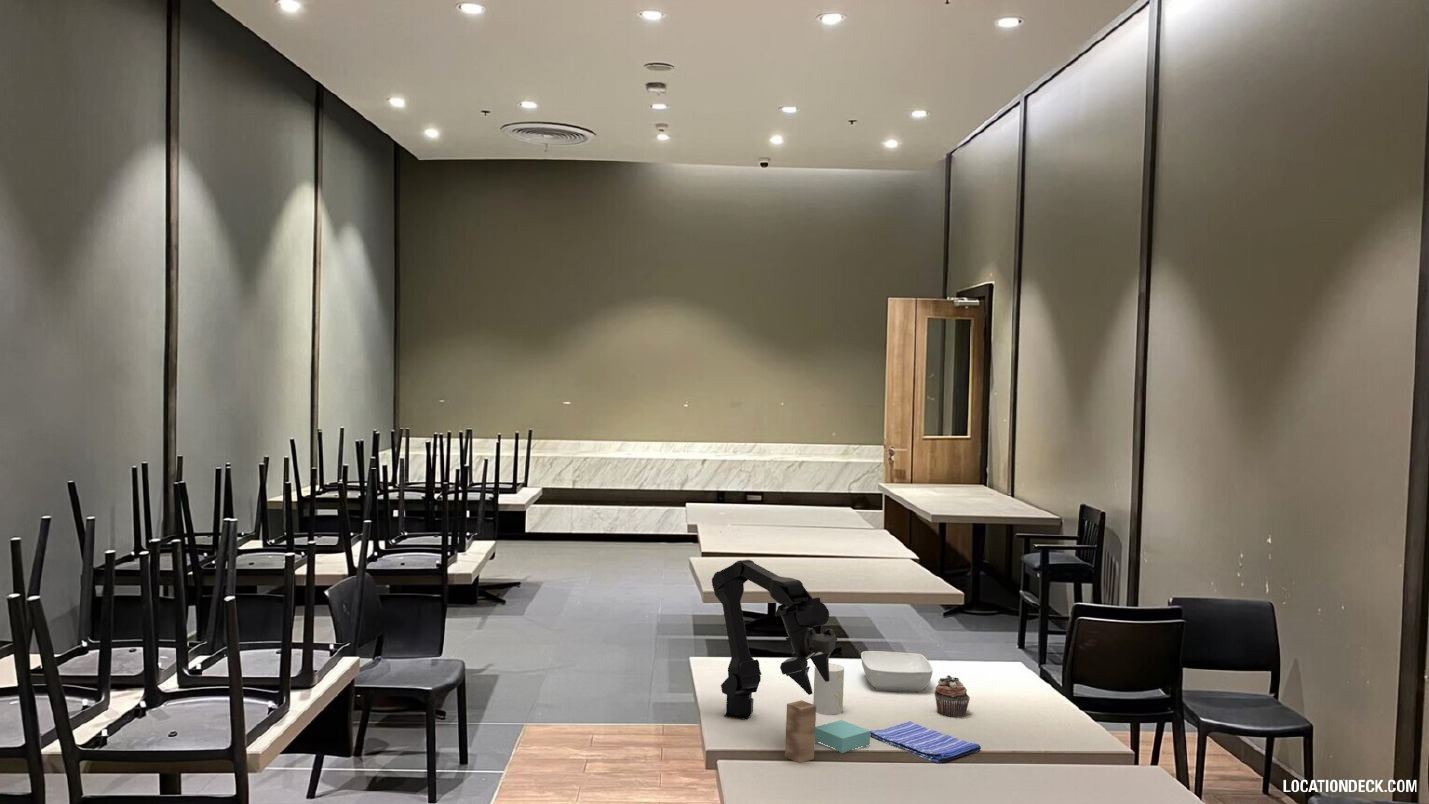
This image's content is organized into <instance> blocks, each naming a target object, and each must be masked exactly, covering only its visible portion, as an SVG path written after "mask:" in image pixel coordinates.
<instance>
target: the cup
mask: <svg viewBox="0 0 1429 804" xmlns="http://www.w3.org/2000/svg"><path fill="white" fill-rule="evenodd" d="M813 675H814V679H813V701H812V703H813V705H816V714H817V713H818V714H821V715H827V716H828V715H830V716H833V715H834V716H835V715H840V714H841V713H843V711H844V710H843V707H844V682H845V678H844V677H845V666H842V665H840V664H836V663H830V662H829V681H828V682H825V680H824V679H823V678H822V676H821V674H820V673H819V671H818V670H817V668H816V666H815V665H814V674H813Z"/></svg>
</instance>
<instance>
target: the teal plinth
mask: <svg viewBox="0 0 1429 804" xmlns="http://www.w3.org/2000/svg"><path fill="white" fill-rule="evenodd" d="M870 731H871V730H869V729H866V728H864V727H861V726H858V725H856V724H853V723H851V722H848V721H845V720H844V719H843V720H842V719H840V720H837V721H833V722H829V723H826V724H821V725H816V726H815V741H816V742H821V743H823V744H825V745H828V746H830V747H833V748H835V749H836V750H838V751H839V752H838V751H837V752H838V753H841V754H844V753H848V752H850V751H849V750H852V749H855V748H858V747H861V746H866V745H869V744H870V745H871V737H870ZM816 742H815V743H816ZM870 745H869V746H870ZM866 747H867V746H866ZM836 750H835V751H836ZM855 750H856V749H855ZM847 751H848V752H847ZM852 751H853V750H852Z"/></svg>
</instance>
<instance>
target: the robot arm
mask: <svg viewBox="0 0 1429 804" xmlns="http://www.w3.org/2000/svg"><path fill="white" fill-rule="evenodd" d="M748 581H750V582H752V583H754V584H755V585H756V586H759V587H760V588H763V589H764V590H766V591H768V593H769V596H770V597H771V598H772V599H773V600H774V601H775V602H776V603H778V604H779V605H778V606H777V609H776V611H775V613H774V616H775V617H779V616H780V617H781V619H782V622H783V624H784V628H785V630H786V633H787V635H788V636H787V637H786V638H785V640H786V642H787V643H789V642H790V644H791V647H792V650H793V652H792V653H791V654H790V655H791V656H792V657H788V658H787V659H786V660H784V661H782V662H781V664H780V666H779V669H780V672H781V674H782V675H785V676H786V677H789V678H790V679H792V681H794V682H795V683H796V684H797V685H798V686H799V687H800V688H801V689H803V691H804V692H805V693H806V694H807V695H808V696H810V695H813V689H812V685H811V681H810V677H809V674H808V673H809V670H810V667H811V666H809V665H808V663H809V661H808V660H811V662H812V663H813V665H814V667H815V666H816V668H817V670H818V671H819V673H820V674H821V676H822V678H823V679H824V680H825V682H828V681H829V663H830V662H829V661H830V656H831V654H832V653H833V652H834V650H835V649H836V642H837V641H838V638H837V635H836V633H835V631H834V629H832V628H827V629H825V630H824V632H821V633H816V630H815V629H814V628H813V627H819V626H824V625H826V624H827V623H828V621H829V618H830V611H829V609H828V607H827V606H826V604H824V602H822V601H821V597H812V595H811V594H810V593H809V592H808V590H807V588H806V587H805V586H804V584H803V582H802V581H801V580H799V579H796V578H793V577H784V576H781V575H778V574H776V573H774V572H772V571H770V570H769V569H766V568H765V567H762V566H760V565H759V564H756V562H754V561H753V560H751V559H743V560H737V561H736V562H734V563H733V564H731V565H729V566H727V567H726V568H723V569H721V570H720V571H716V572H714V574H713V576H712V578H711V583H712V584H711V585H712V589H713V592H714V595H715V597H716V598H717V599H718V601H719V602H720V603H721V604H722V605H721V606H722V609H723V615H724V621H725V626H726V632H727V633H726V634H727V639H728V644H729V650H730V656H731V658H730V660H729V664H728V667H727V675H728V676H727V678H726V679H725V680H724V681H723V682H722V683H721V685H720V686H721V687H720V688H721V693H722V694H724V695H726V702H725V703H726V706H725V707H726V708H725V709H726V710H725V713H724V714H723V717H725V718H731V719H740V720H746V721H747V720H749V718H750V717H751V716H752V715H753V713H754V697H753V696H752V693H757V691H758V689H759V686H760V682H761V680H762V679H761V675H762V672H761V668H760V661H759V659H754V658H753V657H752V655H751V653H750V648H749V643H748V642H749V641H748V637H747V633H746V625H745V621H744V615H743V609H742V603H741V600H742V597H743V595H744V592H745V587H744V585H745V583H746V582H748Z"/></svg>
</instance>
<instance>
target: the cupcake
mask: <svg viewBox="0 0 1429 804" xmlns="http://www.w3.org/2000/svg"><path fill="white" fill-rule="evenodd" d="M937 681H938V682H937V685H936V686H935V690H934V700H935V702H936V703H935V704H936V705H935V706H936V711H937V713H938V714H939V715H941V716H943V717H947V718H963V717H966V715H967V710H968V707H969V703H970V699H971V697H970V696H969V695H968V694H967V690H968V689H967V688H966V687H965V686H964V684H963V682H962V681H960V679H959V678H958V677H952V676H951V675H947V676H946V677H945V678H944V677H943V678H939V679H938V680H937Z"/></svg>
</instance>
